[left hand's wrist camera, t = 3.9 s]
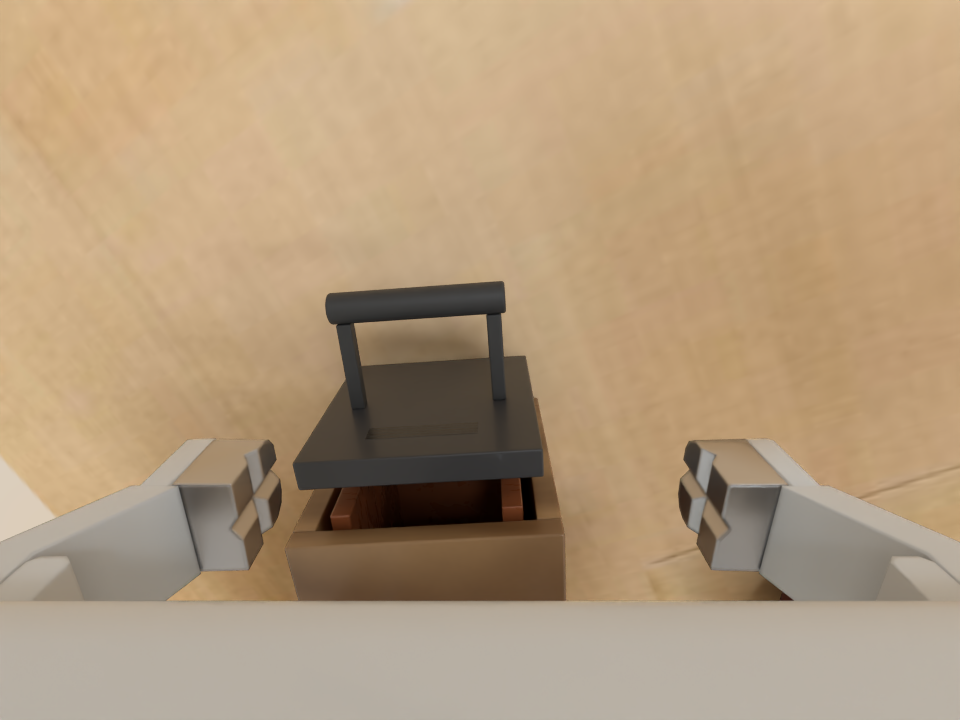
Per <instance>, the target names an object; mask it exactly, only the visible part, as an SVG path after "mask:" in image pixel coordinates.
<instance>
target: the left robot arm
mask: <svg viewBox="0 0 960 720" xmlns="http://www.w3.org/2000/svg"><path fill="white" fill-rule="evenodd" d="M683 460H684V461H685V463H686V464H687V466H688V467H689V469H690V470H689V471H688V472H687V473H686V474H685V475H684V476H683V477H682V478H681V479H680V484H679V491H678V498H679V508H680V511H681V515H682V518H683V520H684V522H685V524H686V525H687V527H688V528H689V529H691V530H693V531H694V532H696V533H697V534H698V539H697V545H698V547H699V549H700V551H701V552H702V554H703V556H704V558H705V560H706V561H707V563H708V565H709V567H710V568H711V570H727V571H760V572H759V574H760V575H762V576H763V577H764V578H766V579H767V580H768V581H769V582H771V583H772V584H773V585H775V586H776V587H777V588H779V589H780V590H781V591H782V592H784V593H785V594H786V595H788V596H789V597H790V598H792V599H793V600H794V601H166V600H167V599H169V598H170V597H171V596H173V595H174V594H175V593H176V592H178V591H179V590H180V589H182V588H183V587H184V586H186V585H187V584H188V583H189V582H191V581H192V580H193V579H195V578H196V577H197V576H199V575H200V574H201V572H200V571H232V570H249V568H250V567H251V565H252V563H253V561H254V560H255V558H256V556H257V554H258V552H259V551H260V549H261V547H262V545H263V539H262V534H263V533H264V532H266V531H267V530H269V529H271V528H272V527H273V525H274V523H275V522H276V520H277V518H278V515H279V511H280V506H281V498H282V490H281V483H280V479H279V478H278V477H277V476H276V475H275V474H274V473H273V472H272V471H271V470H270V469H271V467H272V466H273V464H274V463H275V461H276V455H275V450H274V445H273V444H272V443H271V442H270V441H269V440H250V439H216V438H213V439H190V440H187V441H186V442H185V443H184V444H183V445H181V446H180V447H179V448H178V449H177V450H176V451H175V452H174V453H173V454H172V455H171V456H170V457H169V458H168V459H167V460H166V461H165V462H164V463H163V464H162V465H161V466H160V467H159V468H158V469H157V470H156V471H155V472H154V473H152V474H151V475H150V476H149V477H148V478H147V479H146V480H145V481H144V482H143V483H142V484H141V485H140V486H129V487H127V488H125V489H122V490H120V491H118V492H115V493H113V494H111V495H108V496H106V497H104V498H101V499H99V500H97V501H94V502H92V503H90V504H87V505H85V506H83V507H80V508H78V509H76V510H74V511H71V512H69V513H67V514H64V515H62V516H60V517H57V518H55V519H53V520H50V521H48V522H46V523H43V524H41V525H39V526H36V527H34V528H32V529H29V530H27V531H25V532H22V533H20V534H18V535H15V536H13V537H11V538H8V539H6V540H4V541H1V542H0V720H960V542H958V541H956V540H954V539H951V538H949V537H947V536H944V535H942V534H940V533H937V532H935V531H933V530H930V529H928V528H926V527H924V526H921V525H919V524H917V523H914V522H912V521H910V520H907V519H905V518H903V517H900V516H898V515H896V514H893V513H891V512H889V511H886V510H884V509H882V508H879V507H877V506H875V505H872V504H870V503H868V502H865V501H863V500H861V499H858V498H856V497H854V496H851V495H849V494H847V493H845V492H842V491H840V490H838V489H835V488H833V487H831V486H820V485H819V484H818V483H817V482H816V481H815V480H814V479H813V478H812V477H811V476H810V475H809V474H808V473H807V472H806V471H804V470H803V469H802V468H801V467H800V466H799V465H798V464H797V463H796V462H795V461H794V460H793V459H792V458H791V457H790V456H789V455H788V454H787V453H786V452H785V451H784V450H783V449H782V448H781V447H780V446H779V445H778V444H777V443H776V442H775V441H773V440H770V439H767V438H762V439H728V440H693V441H689V442H688V444H687V446H686V449H685V454H684V459H683Z"/></svg>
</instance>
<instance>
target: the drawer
mask: <svg viewBox="0 0 960 720" xmlns="http://www.w3.org/2000/svg"><path fill="white" fill-rule="evenodd" d="M325 308H326V315H327V318H328V320H329V322H330V323H331V324H338V325H337V326H336V328H337V334H338V339H339V344H340V350H341V355H342V360H343V366H344V371H345V376H346V380H345V382H344V383H343V385H342V386H341V388H340V390H339V391H338V393H337V394H336V396H335V397H334V399H333V401H332V402H331V404H330V405H329V407H328V409H327V410H326V412H325V413H324V415H323V416H322V418H321V420H320V421H319V423H318V424H317V426H316V428H315V429H314V431H313V432H312V434H311V435H310V437H309V439H308V440H307V442H306V443H305V445H304V447H303V448H302V450H301V451H300V453H299V455H298V456H297V458H296V459H295V461H294V462H293V468H294V472H295V476H296V480H297V484H298V488H299V490H311V489H329V488H342V491H341V493H340V495H339V497H338V500H337V502H336V504H335V507H334V509H333V511H332V513H331V516H330V519H331V523H332V527H333V530H353V529H372V528H391V527H411V526H430V525H449V524H469V523H488V522H508V521H524V519H523V503H522V493H521V483H520V478H529V477H543V475H544V461H543V447H542V441H541V436H540V431H539V425H538V420H537V415H536V409H535V404H534V399H533V393H532V388H531V382H530V377H529V372H528V366H527V361H526V357H525V356H512V357H504V353H503V337H502V321H501V313H505V311H506V304H505V288H504V282H503V281H497V282H483V283H469V284H455V285H441V286H427V287H412V288H398V289H384V290H370V291H356V292H342V293H330V294H328V295H327V297H326V303H325ZM480 314H486V317H487V331H488V345H489V358H481V359H466V360H450V361H435V362H419V363H404V364H388V365H373V366H361V362H360V356H359V351H358V345H357V339H356V333H355V328H354V323H363V322H377V321H392V320H407V319H421V318H436V317H451V316H465V315H480Z"/></svg>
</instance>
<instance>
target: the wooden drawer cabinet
mask: <svg viewBox="0 0 960 720" xmlns="http://www.w3.org/2000/svg"><path fill="white" fill-rule="evenodd" d="M533 399H534V404H535V409H536V415H537V420H538V425H539V431H540V436H541V441H542V447H543V461H544V475H543V477H529V478H520V483H521V493H522V503H523V519H524V521H508V522H488V523H469V524H449V525H430V526H411V527H391V528H372V529H353V530H333V527H332V523H331V519H330V516H331V513H332V511H333V509H334V507H335V504H336V502H337V500H338V497H339V495H340V493H341V491H342V488H329V489H315V490H314V492H313V494H312V496H311V498H310V499H309V501H308V503H307V505H306V507H305V509H304V511H303V513H302V515H301V517H300V519H299V521H298V523H297V525H296V527H295V528H294V530H293V534H292V535H291V537H290V539H289V541H288V543H287V545H286V547H285V552H286V556H287V560H288V563H289V567H290V571H291V574H292V578H293V582H294V585H295V589H296V593H297V597H298V600H299V601H566V575H565V533H564V528H563V523H562V518H561V513H560V508H559V503H558V498H557V493H556V488H555V483H554V478H553V473H552V468H551V463H550V458H549V453H548V448H547V443H546V439H545V434H544V429H543V424H542V419H541V414H540V409H539V404H538V399H537V398H533Z"/></svg>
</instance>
